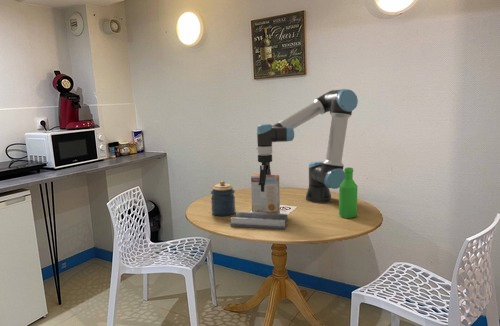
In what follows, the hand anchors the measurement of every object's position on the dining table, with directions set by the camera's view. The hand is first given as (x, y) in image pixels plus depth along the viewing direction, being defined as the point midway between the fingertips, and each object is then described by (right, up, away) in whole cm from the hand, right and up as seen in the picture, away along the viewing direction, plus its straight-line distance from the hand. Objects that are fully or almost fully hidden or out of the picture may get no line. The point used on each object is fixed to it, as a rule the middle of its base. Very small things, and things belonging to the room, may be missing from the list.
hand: (265, 194), depth 181 cm
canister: (-23, -11, +5) cm, 26 cm away
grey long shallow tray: (-3, -13, -14) cm, 19 cm away
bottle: (+42, -11, -5) cm, 43 cm away
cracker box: (0, -11, +2) cm, 11 cm away
